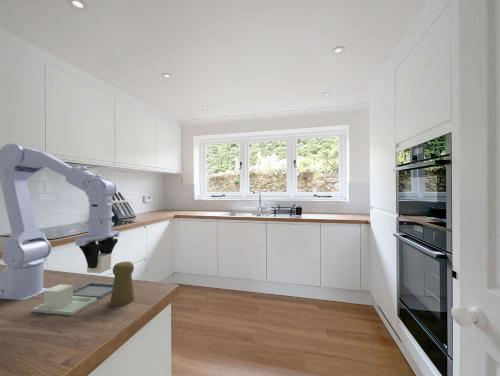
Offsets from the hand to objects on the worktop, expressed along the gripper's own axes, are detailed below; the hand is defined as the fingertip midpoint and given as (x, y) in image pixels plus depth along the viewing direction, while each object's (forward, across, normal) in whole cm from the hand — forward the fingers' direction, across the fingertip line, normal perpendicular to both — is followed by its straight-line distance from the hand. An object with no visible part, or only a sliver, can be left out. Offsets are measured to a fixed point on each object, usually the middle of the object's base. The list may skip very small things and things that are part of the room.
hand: (98, 265), depth 69 cm
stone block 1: (+8, -8, +5) cm, 12 cm away
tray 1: (+9, -8, +2) cm, 12 cm away
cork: (+9, -3, -10) cm, 14 cm away
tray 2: (+9, +2, +2) cm, 9 cm away
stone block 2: (+2, 0, 0) cm, 2 cm away
